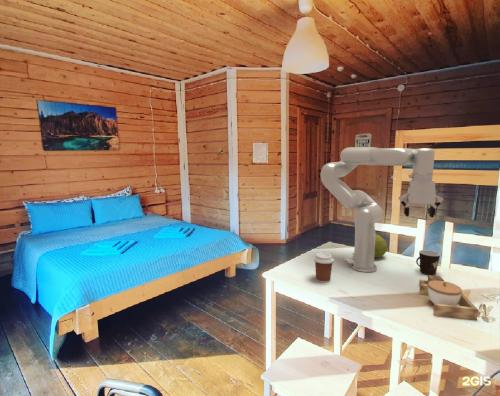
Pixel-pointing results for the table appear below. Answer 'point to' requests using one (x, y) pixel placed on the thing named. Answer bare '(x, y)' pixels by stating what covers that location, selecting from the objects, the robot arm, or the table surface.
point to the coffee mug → (428, 261)
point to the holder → (452, 306)
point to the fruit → (380, 246)
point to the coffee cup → (323, 267)
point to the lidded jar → (444, 292)
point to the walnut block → (434, 278)
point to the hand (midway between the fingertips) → (419, 216)
